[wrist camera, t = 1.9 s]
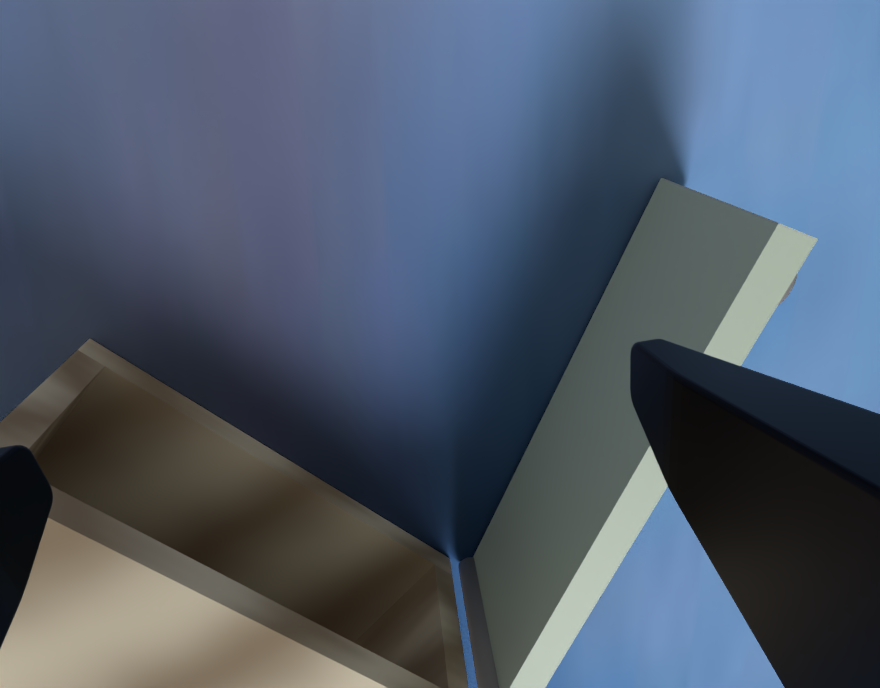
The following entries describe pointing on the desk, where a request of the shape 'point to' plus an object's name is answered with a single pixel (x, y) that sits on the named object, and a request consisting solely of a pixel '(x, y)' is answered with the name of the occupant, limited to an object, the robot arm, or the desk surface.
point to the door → (614, 427)
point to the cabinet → (208, 556)
